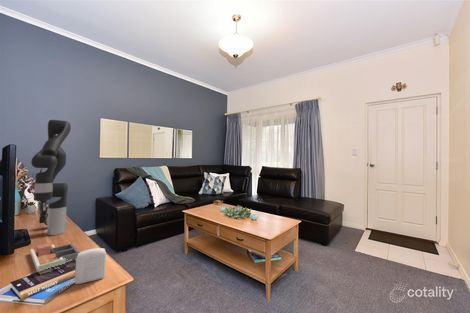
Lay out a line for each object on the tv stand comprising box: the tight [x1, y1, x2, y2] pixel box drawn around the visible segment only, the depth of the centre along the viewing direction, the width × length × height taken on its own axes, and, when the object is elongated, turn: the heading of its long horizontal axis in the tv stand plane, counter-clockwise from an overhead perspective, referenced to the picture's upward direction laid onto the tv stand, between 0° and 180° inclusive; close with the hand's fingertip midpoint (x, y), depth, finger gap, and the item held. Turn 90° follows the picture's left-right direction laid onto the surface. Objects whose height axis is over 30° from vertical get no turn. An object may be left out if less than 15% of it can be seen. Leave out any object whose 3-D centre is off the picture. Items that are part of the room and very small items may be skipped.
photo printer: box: [74, 247, 107, 285], centre depth 85 cm, size 10×4×12 cm, turn 123°
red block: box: [35, 242, 51, 258], centre depth 108 cm, size 6×4×4 cm
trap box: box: [30, 243, 81, 272], centre depth 103 cm, size 30×16×4 cm, turn 49°
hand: (42, 222), depth 114 cm, fingers closed
